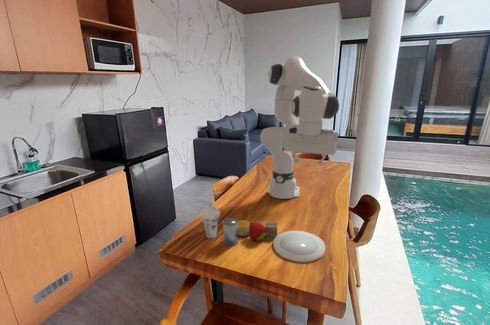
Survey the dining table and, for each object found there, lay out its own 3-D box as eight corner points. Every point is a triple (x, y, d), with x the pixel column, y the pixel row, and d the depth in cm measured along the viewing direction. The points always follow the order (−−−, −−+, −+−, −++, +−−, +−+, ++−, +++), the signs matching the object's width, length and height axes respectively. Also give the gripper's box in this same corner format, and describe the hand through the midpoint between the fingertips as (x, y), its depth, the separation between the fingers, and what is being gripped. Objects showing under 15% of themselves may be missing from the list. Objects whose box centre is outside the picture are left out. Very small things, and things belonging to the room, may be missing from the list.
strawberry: (241, 225, 108) (254, 245, 102) (255, 214, 109) (269, 233, 103) (245, 229, 113) (258, 248, 107) (259, 219, 113) (272, 237, 107)
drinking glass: (227, 236, 110) (226, 216, 108) (240, 239, 108) (239, 219, 106) (221, 244, 105) (219, 223, 102) (234, 247, 103) (233, 226, 100)
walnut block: (265, 231, 115) (265, 221, 113) (277, 232, 114) (277, 221, 113) (265, 237, 110) (265, 226, 109) (277, 238, 109) (277, 227, 108)
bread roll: (249, 224, 119) (249, 216, 118) (254, 235, 111) (254, 227, 110) (231, 226, 118) (231, 218, 117) (235, 237, 110) (235, 228, 108)
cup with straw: (207, 229, 117) (205, 187, 112) (225, 232, 114) (224, 189, 109) (197, 238, 110) (194, 193, 104) (216, 242, 106) (214, 196, 101)
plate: (281, 229, 116) (282, 226, 115) (328, 239, 108) (329, 236, 107) (265, 253, 98) (265, 250, 98) (320, 267, 90) (320, 264, 90)
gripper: (339, 129, 100) (336, 164, 103) (287, 126, 108) (286, 159, 112) (337, 131, 94) (334, 168, 98) (282, 128, 102) (281, 162, 106)
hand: (308, 163), depth 105 cm, fingers open, 8 cm apart
